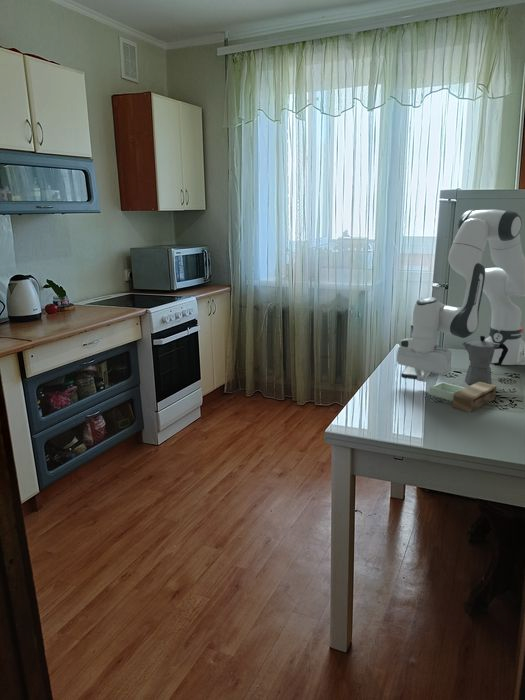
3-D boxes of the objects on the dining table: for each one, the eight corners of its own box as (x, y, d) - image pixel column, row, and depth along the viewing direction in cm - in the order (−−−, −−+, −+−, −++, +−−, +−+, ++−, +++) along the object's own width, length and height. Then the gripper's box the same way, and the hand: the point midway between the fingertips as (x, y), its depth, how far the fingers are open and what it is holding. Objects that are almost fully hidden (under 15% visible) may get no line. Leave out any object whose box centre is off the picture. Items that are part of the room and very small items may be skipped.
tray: (441, 389, 183) (442, 381, 182) (484, 401, 171) (485, 393, 171) (429, 395, 178) (429, 387, 177) (473, 407, 166) (473, 398, 166)
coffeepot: (458, 384, 188) (462, 337, 184) (459, 377, 196) (463, 331, 192) (504, 389, 182) (509, 340, 177) (504, 381, 190) (509, 334, 186)
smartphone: (408, 367, 212) (400, 377, 198) (408, 363, 212) (400, 373, 198) (430, 369, 209) (423, 380, 195) (430, 365, 208) (424, 376, 194)
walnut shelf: (477, 394, 178) (479, 381, 177) (494, 399, 173) (496, 385, 172) (452, 407, 167) (453, 393, 166) (470, 412, 163) (471, 398, 161)
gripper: (456, 347, 175) (453, 385, 179) (405, 337, 190) (403, 372, 194) (446, 351, 171) (443, 389, 175) (395, 340, 186) (393, 376, 190)
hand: (422, 380), depth 184 cm, fingers closed
